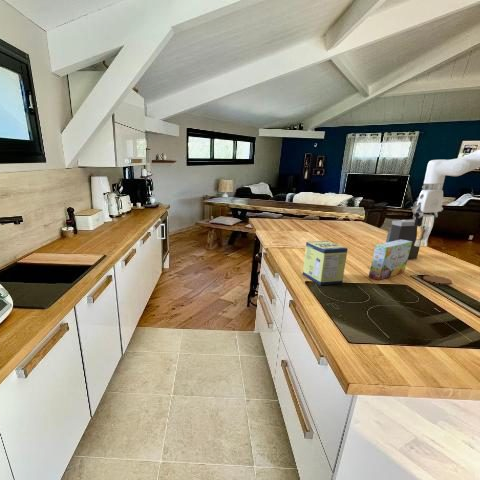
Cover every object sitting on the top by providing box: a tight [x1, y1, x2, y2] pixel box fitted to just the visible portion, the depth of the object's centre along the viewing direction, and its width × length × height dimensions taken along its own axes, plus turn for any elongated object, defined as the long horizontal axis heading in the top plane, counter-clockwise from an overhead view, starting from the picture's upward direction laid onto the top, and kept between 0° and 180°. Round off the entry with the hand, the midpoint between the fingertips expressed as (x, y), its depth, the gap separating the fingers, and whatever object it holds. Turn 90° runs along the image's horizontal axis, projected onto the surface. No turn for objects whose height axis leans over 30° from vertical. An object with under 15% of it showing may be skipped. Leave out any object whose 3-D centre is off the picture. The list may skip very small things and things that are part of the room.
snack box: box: [368, 240, 412, 281], centre depth 140 cm, size 21×6×15 cm, turn 122°
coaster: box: [422, 275, 453, 286], centre depth 135 cm, size 10×10×1 cm
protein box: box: [302, 240, 348, 286], centre depth 136 cm, size 10×16×16 cm
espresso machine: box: [385, 218, 421, 260], centre depth 166 cm, size 9×14×21 cm, turn 100°
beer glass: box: [412, 214, 434, 248], centre depth 155 cm, size 7×7×15 cm
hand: (424, 225), depth 154 cm, fingers closed on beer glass, 7 cm apart
